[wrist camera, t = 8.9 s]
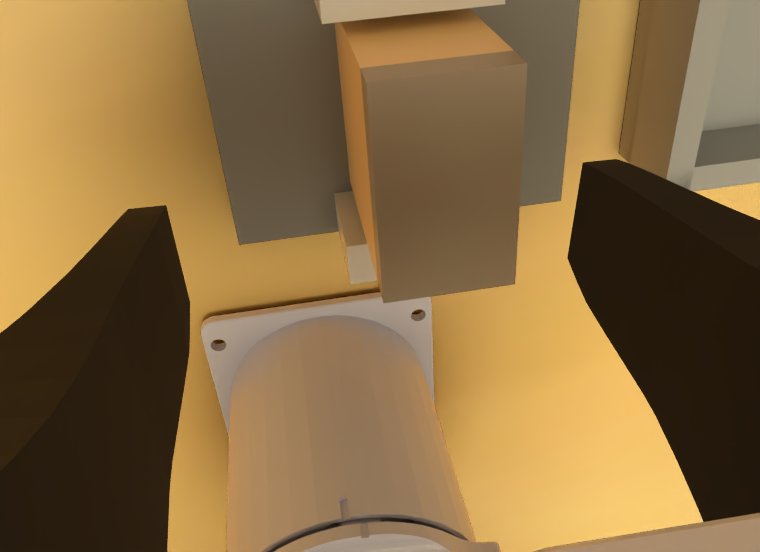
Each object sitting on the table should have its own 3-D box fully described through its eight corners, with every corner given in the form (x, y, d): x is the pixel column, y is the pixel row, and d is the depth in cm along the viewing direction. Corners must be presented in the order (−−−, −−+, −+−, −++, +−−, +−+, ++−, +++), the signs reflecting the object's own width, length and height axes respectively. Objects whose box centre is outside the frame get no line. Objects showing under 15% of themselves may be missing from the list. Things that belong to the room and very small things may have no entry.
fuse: (450, 168, 21) (514, 284, 16) (350, 181, 20) (383, 303, 15) (450, -10, 18) (527, 63, 13) (332, 2, 17) (366, 82, 13)
